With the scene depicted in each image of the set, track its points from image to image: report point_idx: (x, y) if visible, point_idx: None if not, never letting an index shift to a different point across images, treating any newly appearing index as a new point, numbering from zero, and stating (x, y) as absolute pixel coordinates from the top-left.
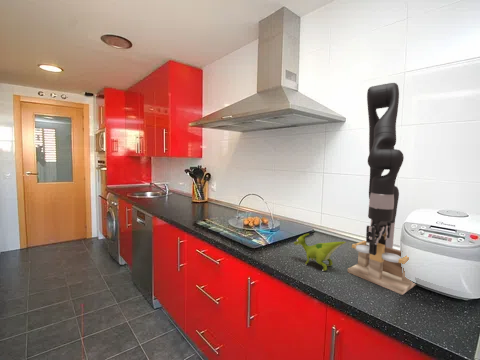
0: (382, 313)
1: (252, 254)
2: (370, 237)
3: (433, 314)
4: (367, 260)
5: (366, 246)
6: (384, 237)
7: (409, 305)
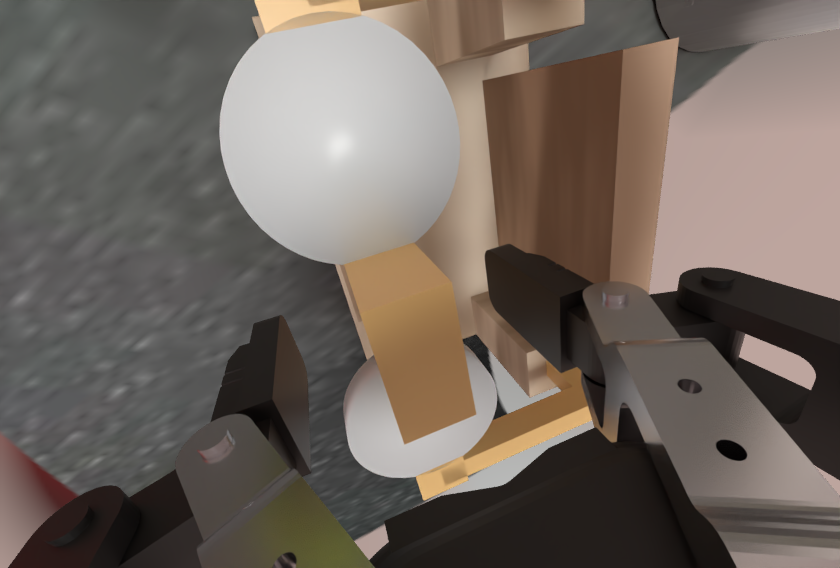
0: (115, 457)
1: None
2: (209, 532)
3: (348, 467)
4: (488, 52)
5: (422, 134)
6: (593, 415)
7: (313, 421)
